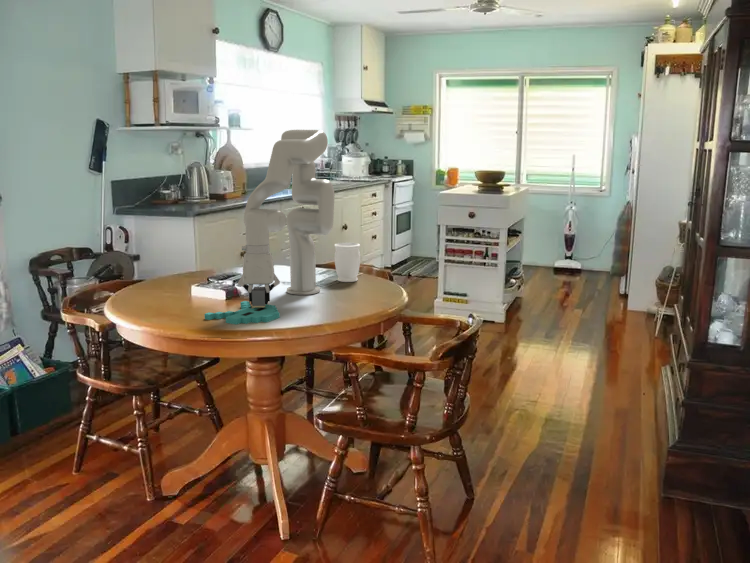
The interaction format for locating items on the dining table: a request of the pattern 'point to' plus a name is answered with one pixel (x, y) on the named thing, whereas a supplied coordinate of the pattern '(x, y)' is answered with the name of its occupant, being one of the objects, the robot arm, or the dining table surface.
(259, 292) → the block
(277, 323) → the dining table surface
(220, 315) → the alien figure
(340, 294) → the dining table surface
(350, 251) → the jar
